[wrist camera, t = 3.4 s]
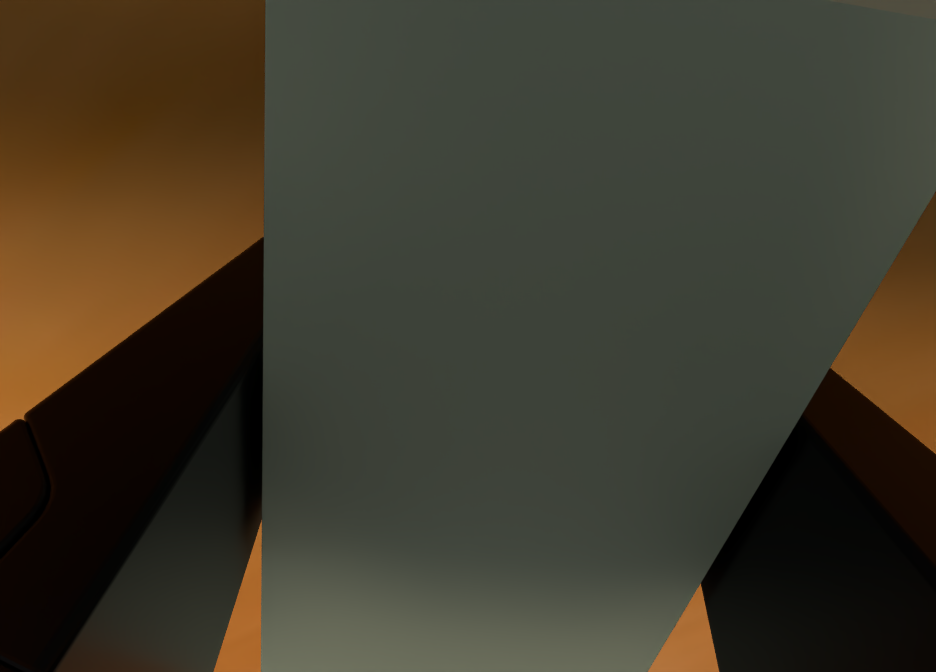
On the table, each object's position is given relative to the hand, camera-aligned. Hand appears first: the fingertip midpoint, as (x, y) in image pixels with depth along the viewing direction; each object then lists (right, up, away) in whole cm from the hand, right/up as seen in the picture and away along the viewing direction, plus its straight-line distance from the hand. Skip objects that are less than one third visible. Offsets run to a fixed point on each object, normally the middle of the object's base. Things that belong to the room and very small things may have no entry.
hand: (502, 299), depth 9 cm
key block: (0, +1, +1) cm, 1 cm away
